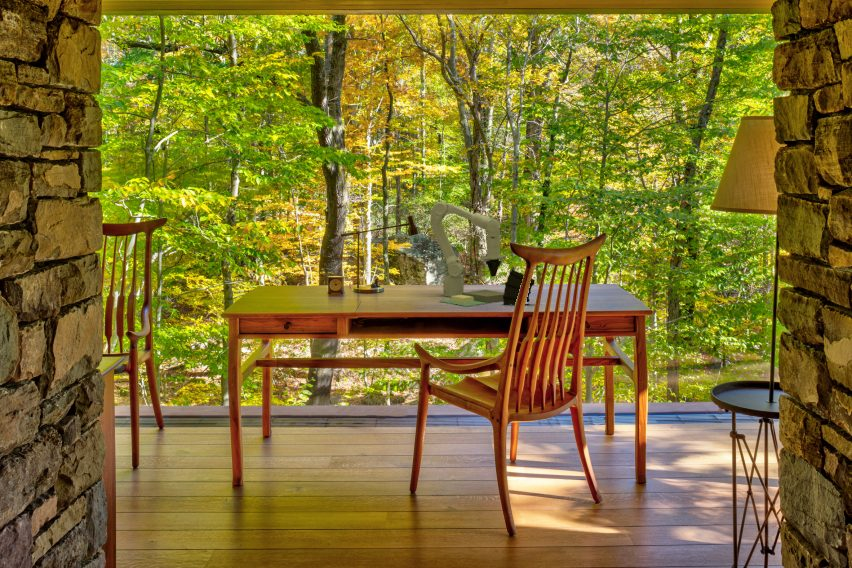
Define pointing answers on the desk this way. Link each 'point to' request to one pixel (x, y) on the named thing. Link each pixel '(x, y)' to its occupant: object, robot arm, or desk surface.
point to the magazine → (514, 287)
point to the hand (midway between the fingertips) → (493, 276)
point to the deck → (486, 296)
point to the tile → (462, 299)
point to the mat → (464, 304)
